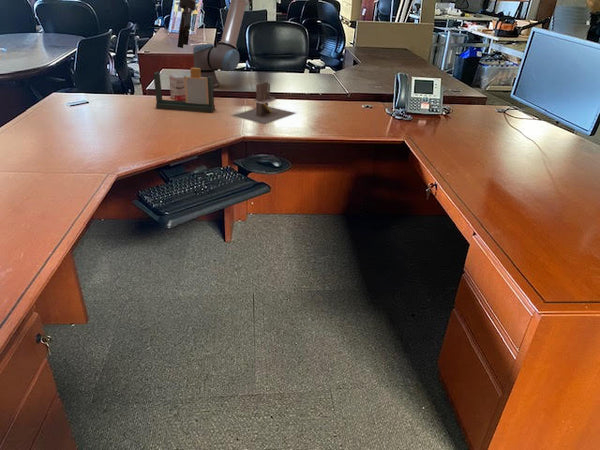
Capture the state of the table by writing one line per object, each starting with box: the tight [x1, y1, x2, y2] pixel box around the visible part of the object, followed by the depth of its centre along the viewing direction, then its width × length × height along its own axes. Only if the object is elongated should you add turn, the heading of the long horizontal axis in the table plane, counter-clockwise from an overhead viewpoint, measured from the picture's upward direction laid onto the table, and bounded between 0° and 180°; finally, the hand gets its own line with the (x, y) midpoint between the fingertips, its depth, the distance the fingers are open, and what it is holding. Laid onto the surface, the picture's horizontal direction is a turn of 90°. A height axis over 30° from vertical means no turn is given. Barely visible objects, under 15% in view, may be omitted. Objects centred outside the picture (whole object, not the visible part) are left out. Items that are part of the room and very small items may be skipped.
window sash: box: [183, 67, 209, 104], centre depth 213 cm, size 3×12×17 cm, turn 84°
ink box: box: [168, 74, 186, 101], centre depth 233 cm, size 8×5×12 cm, turn 39°
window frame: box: [152, 71, 216, 114], centre depth 215 cm, size 6×28×16 cm, turn 84°
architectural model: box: [232, 81, 296, 125], centre depth 214 cm, size 20×25×15 cm
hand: (182, 46), depth 217 cm, fingers open, 13 cm apart
